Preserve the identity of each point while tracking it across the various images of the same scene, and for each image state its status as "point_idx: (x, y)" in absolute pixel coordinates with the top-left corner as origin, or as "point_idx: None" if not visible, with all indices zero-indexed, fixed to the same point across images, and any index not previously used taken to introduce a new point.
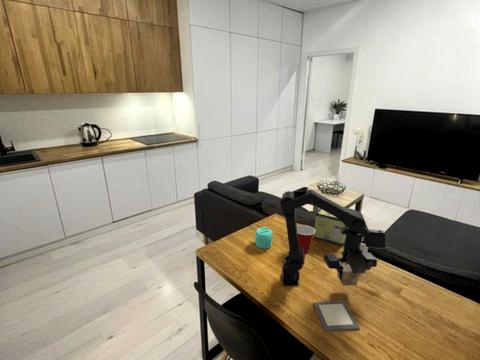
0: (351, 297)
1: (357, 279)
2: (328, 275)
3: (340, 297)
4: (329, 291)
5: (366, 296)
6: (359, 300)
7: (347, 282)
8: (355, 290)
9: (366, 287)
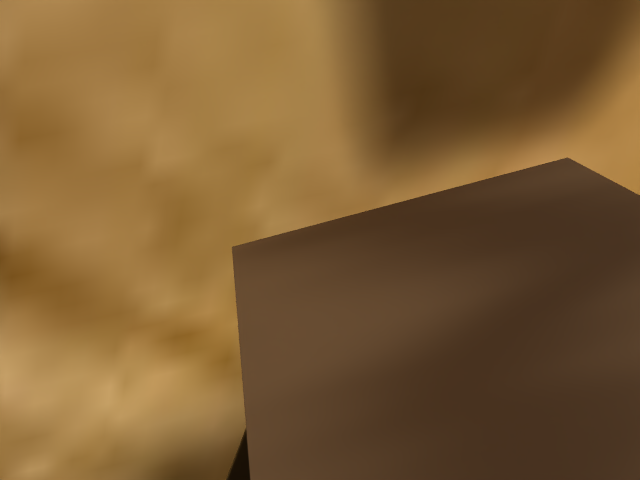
0: (298, 81)
1: (257, 354)
2: None
3: (476, 50)
4: (588, 153)
5: (32, 153)
6: (171, 27)
7: (525, 218)
8: (201, 251)
9: (19, 348)
